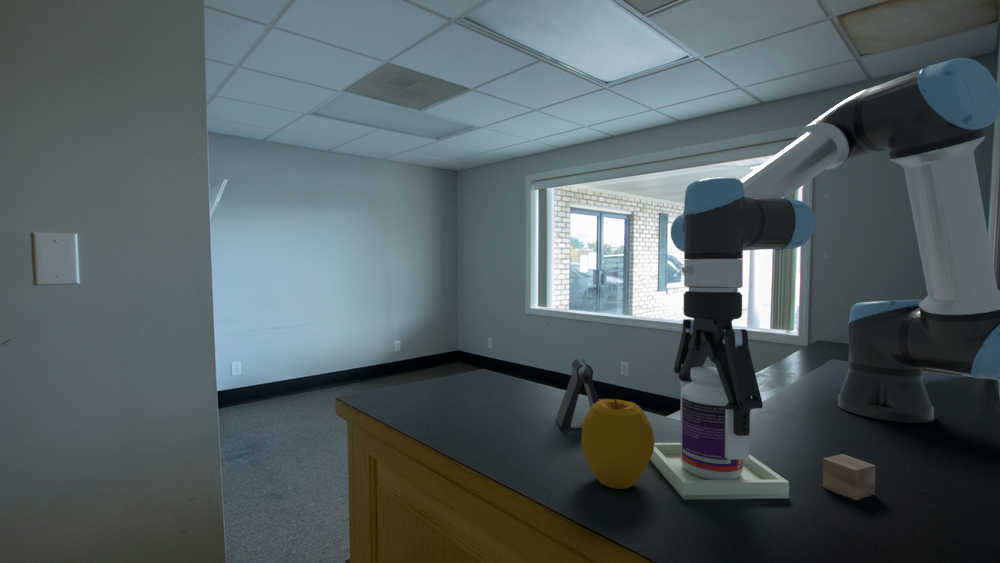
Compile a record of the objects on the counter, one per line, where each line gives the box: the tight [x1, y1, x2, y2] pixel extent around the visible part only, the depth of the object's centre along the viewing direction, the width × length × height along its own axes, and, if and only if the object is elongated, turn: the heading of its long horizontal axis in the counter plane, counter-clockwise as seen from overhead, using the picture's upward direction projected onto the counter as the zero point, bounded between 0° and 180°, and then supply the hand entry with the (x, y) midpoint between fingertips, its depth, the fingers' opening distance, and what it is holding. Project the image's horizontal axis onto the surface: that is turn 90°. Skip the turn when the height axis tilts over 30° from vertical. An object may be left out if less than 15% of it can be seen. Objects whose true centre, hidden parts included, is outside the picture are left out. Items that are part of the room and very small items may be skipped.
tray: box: [650, 442, 790, 500], centre depth 65 cm, size 14×14×2 cm
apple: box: [581, 397, 656, 490], centre depth 62 cm, size 10×10×12 cm
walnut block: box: [822, 453, 876, 501], centre depth 60 cm, size 4×4×4 cm
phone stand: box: [556, 358, 600, 430], centre depth 86 cm, size 9×6×12 cm, turn 90°
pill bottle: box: [680, 366, 743, 480], centre depth 64 cm, size 8×8×14 cm
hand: (710, 438), depth 65 cm, fingers open, 13 cm apart
